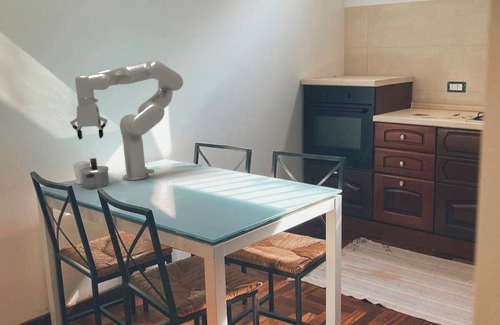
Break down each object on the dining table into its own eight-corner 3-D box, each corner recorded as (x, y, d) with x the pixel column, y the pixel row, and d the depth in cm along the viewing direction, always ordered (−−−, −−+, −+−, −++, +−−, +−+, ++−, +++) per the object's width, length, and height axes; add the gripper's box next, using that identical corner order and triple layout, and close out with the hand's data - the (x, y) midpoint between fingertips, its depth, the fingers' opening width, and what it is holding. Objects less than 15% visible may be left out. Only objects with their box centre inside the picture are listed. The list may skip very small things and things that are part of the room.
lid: (111, 170, 263) (110, 155, 262) (104, 176, 251) (103, 160, 249) (85, 171, 264) (83, 156, 262) (77, 178, 251) (75, 162, 249)
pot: (113, 180, 267) (111, 166, 265) (103, 189, 250) (101, 174, 248) (88, 181, 267) (87, 167, 265) (77, 190, 250) (76, 176, 248)
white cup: (87, 184, 261) (84, 164, 259) (72, 184, 262) (70, 164, 260) (95, 180, 268) (92, 161, 266) (80, 180, 270) (78, 161, 268)
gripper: (107, 100, 253) (111, 136, 257) (70, 102, 254) (75, 138, 257) (102, 101, 246) (107, 138, 250) (65, 104, 246) (70, 140, 250)
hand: (90, 138), depth 254 cm, fingers open, 9 cm apart
